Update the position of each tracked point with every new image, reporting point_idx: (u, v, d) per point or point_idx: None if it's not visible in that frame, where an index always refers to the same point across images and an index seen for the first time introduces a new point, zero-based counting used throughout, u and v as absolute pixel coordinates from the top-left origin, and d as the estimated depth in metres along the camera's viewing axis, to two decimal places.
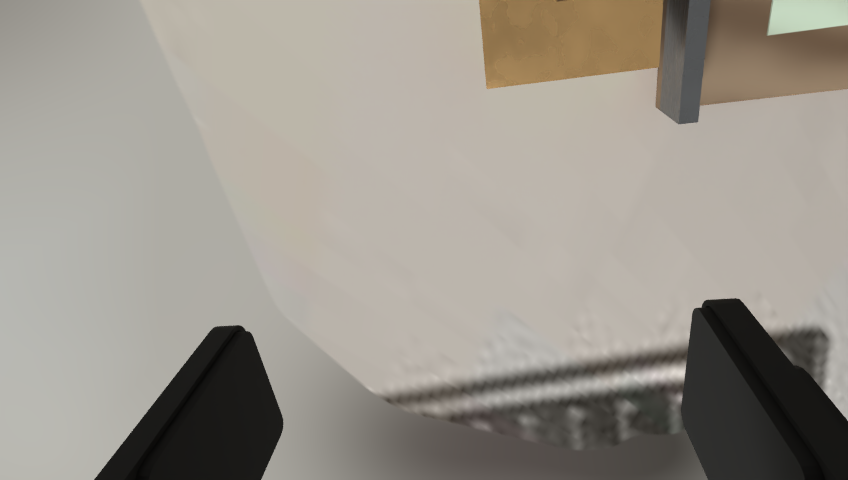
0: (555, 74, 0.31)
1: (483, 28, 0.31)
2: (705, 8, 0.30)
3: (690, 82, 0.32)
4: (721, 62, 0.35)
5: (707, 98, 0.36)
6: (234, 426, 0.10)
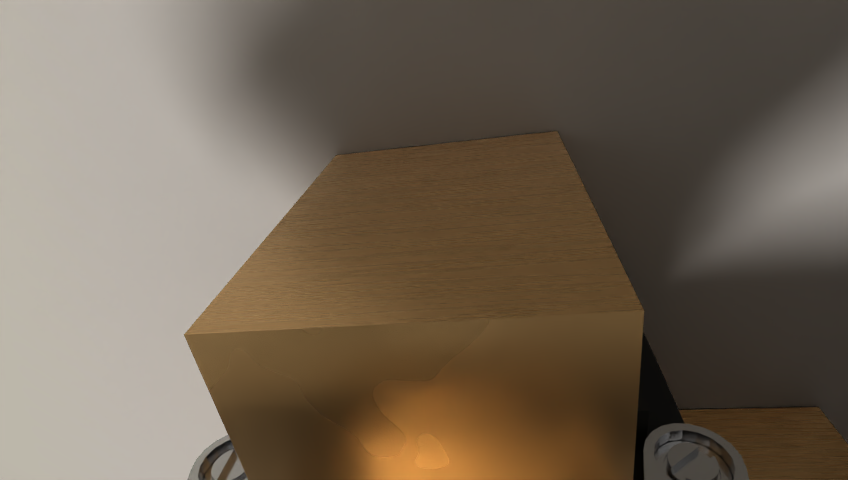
0: None
1: None
2: None
3: None
4: None
5: None
6: None
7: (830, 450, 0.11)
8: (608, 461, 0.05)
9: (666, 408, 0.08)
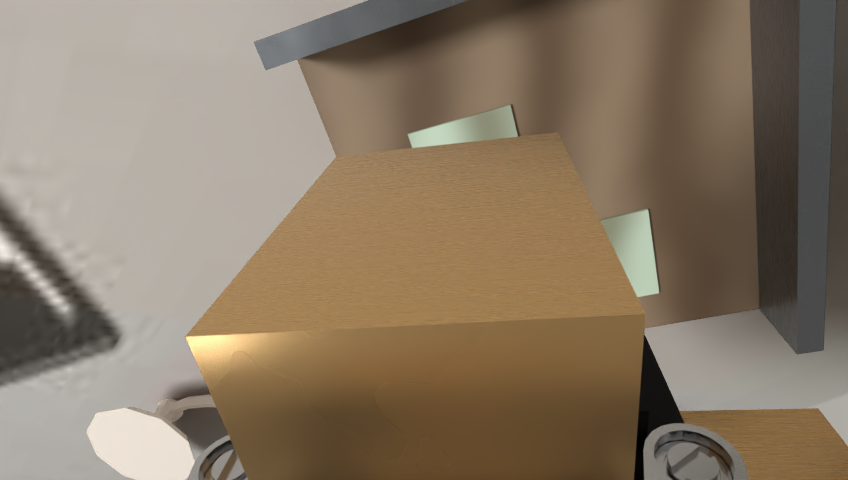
0: None
1: None
2: (412, 12, 0.20)
3: (313, 34, 0.21)
4: (366, 92, 0.26)
5: (319, 93, 0.26)
6: None
7: (830, 452, 0.11)
8: (609, 464, 0.05)
9: (666, 408, 0.08)
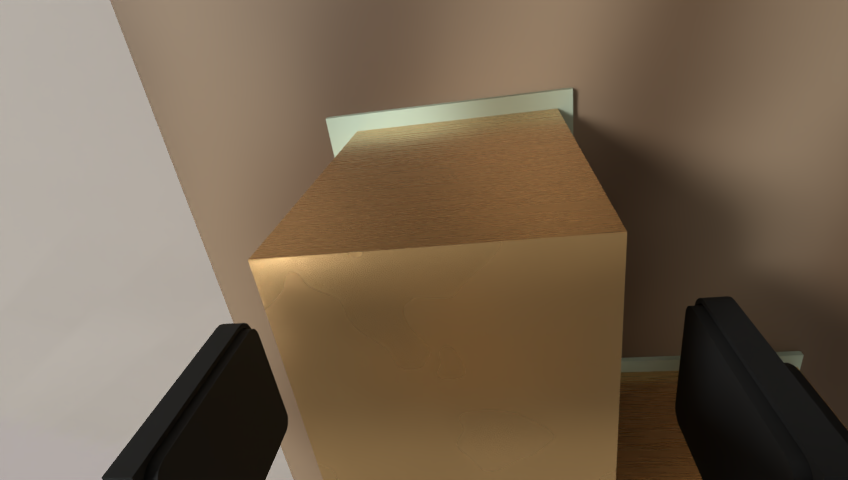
0: None
1: None
2: None
3: None
4: (235, 1, 0.11)
5: None
6: (240, 423, 0.10)
7: None
8: (599, 368, 0.06)
9: None
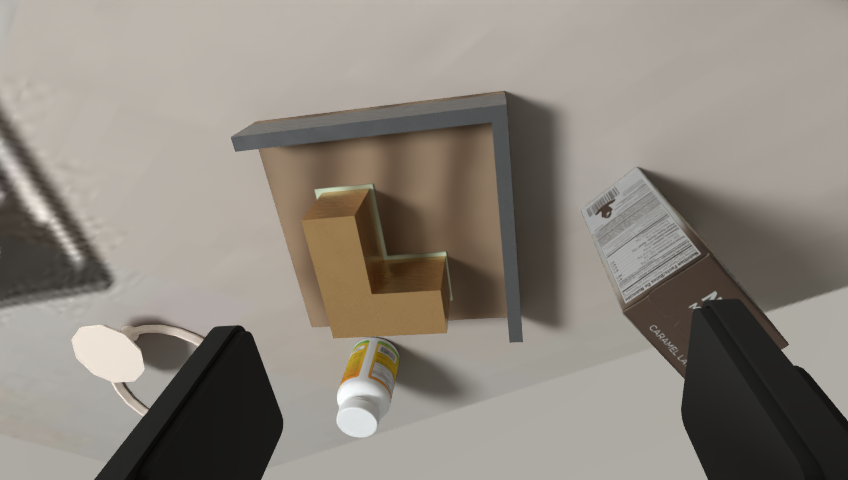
0: (378, 332, 0.45)
1: (325, 305, 0.44)
2: (314, 139, 0.40)
3: (262, 139, 0.40)
4: (293, 163, 0.45)
5: (266, 158, 0.45)
6: (234, 426, 0.10)
7: (439, 262, 0.46)
8: (356, 237, 0.41)
9: None
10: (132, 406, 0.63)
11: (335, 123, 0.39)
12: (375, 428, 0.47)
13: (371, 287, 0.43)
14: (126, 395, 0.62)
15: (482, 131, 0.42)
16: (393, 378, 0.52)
